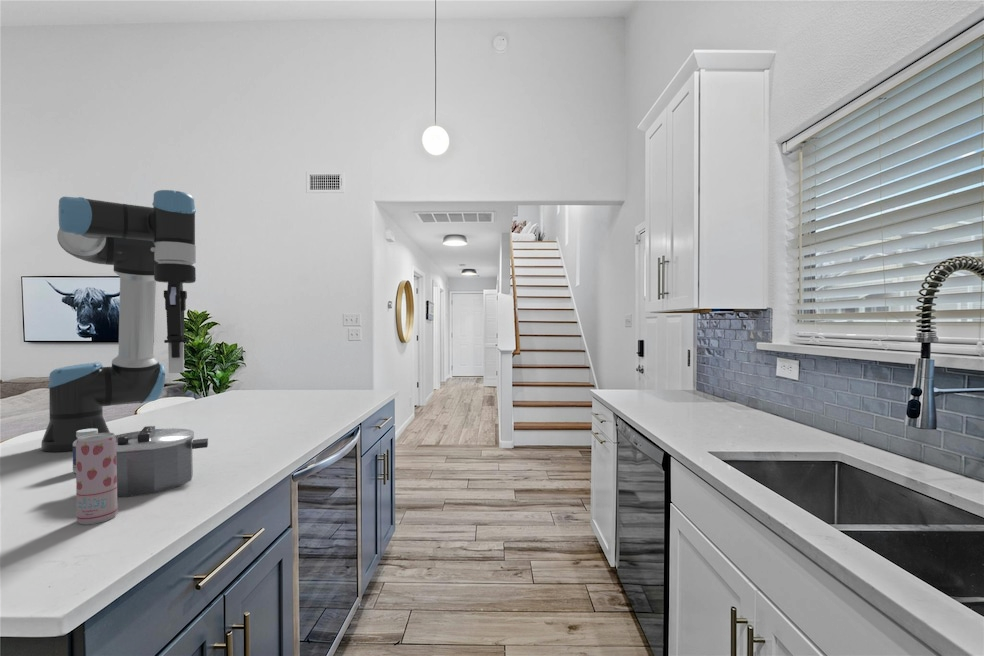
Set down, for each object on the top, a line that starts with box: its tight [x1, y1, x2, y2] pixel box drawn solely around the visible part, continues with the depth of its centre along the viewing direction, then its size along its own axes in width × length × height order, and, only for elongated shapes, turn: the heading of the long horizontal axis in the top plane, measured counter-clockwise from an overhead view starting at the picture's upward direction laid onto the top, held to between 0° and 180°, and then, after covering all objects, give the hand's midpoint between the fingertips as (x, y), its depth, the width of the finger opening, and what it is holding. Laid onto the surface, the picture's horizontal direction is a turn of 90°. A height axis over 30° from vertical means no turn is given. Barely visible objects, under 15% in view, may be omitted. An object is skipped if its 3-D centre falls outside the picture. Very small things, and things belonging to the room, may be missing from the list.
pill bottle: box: [72, 429, 98, 474], centre depth 115 cm, size 5×5×10 cm
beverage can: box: [75, 432, 119, 526], centre depth 87 cm, size 6×6×15 cm
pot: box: [116, 438, 209, 498], centre depth 106 cm, size 17×23×9 cm
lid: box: [115, 425, 195, 453], centre depth 106 cm, size 18×18×3 cm
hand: (176, 372), depth 105 cm, fingers closed
